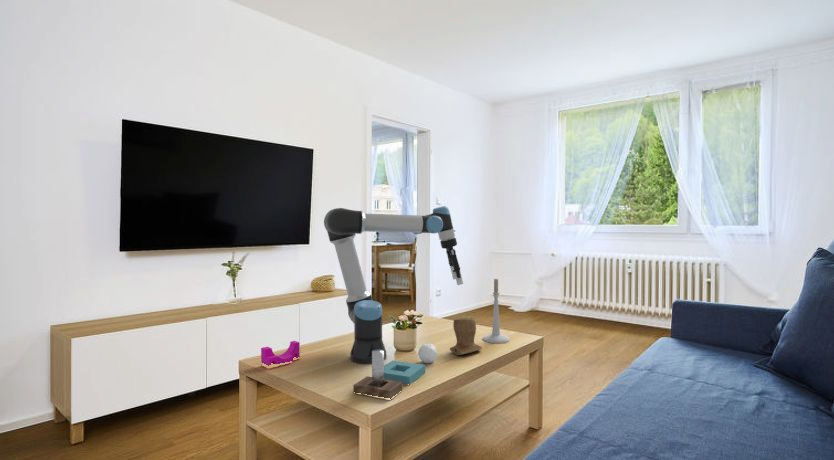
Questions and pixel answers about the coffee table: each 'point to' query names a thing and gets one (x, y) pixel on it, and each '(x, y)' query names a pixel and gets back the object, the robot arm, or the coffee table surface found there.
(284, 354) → the magenta curved bracket
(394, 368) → the seat block
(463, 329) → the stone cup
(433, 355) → the geometric ball
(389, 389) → the brown rectangular frame
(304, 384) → the coffee table surface
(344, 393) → the coffee table surface
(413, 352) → the coffee table surface
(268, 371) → the coffee table surface
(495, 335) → the candlestick
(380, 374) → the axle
